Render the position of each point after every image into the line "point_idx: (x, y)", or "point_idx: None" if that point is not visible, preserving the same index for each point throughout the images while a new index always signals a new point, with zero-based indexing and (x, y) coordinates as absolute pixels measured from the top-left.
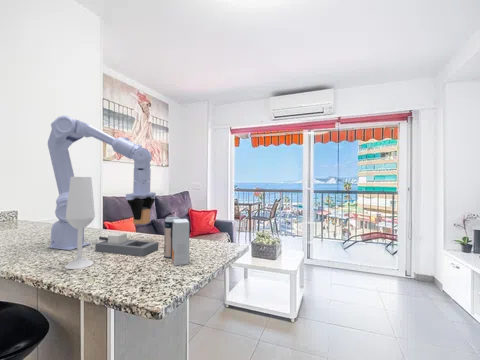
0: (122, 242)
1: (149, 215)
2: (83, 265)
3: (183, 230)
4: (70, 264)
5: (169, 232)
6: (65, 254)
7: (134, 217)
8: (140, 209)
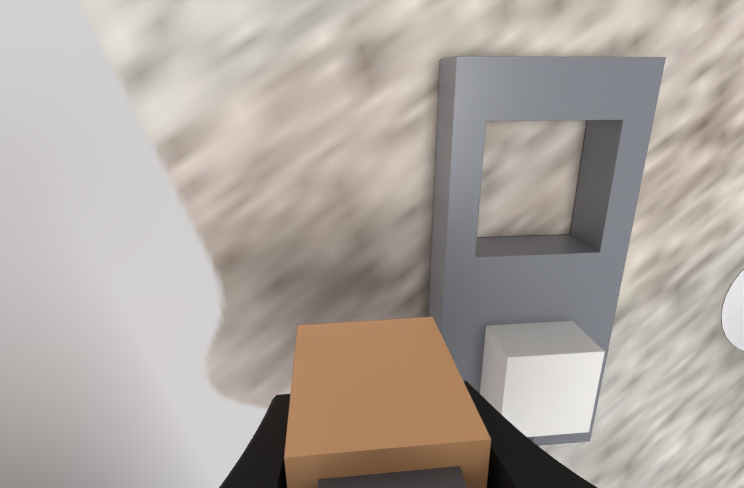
0: (532, 320)
1: (302, 379)
2: None
3: None
4: None
5: None
6: (633, 480)
7: None
8: (545, 464)
